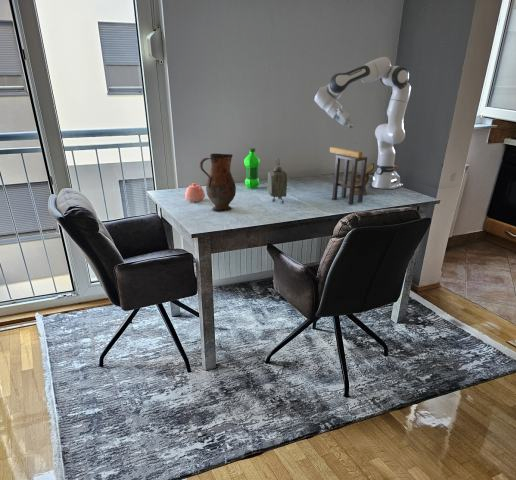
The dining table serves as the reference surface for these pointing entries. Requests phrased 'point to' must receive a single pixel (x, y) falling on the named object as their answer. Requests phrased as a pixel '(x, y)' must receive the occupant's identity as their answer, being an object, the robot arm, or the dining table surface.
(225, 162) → the pitcher
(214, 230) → the dining table surface
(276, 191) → the tabletop clock
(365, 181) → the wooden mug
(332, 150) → the bar
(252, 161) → the plastic bottle
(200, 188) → the sugar bowl
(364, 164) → the stand
